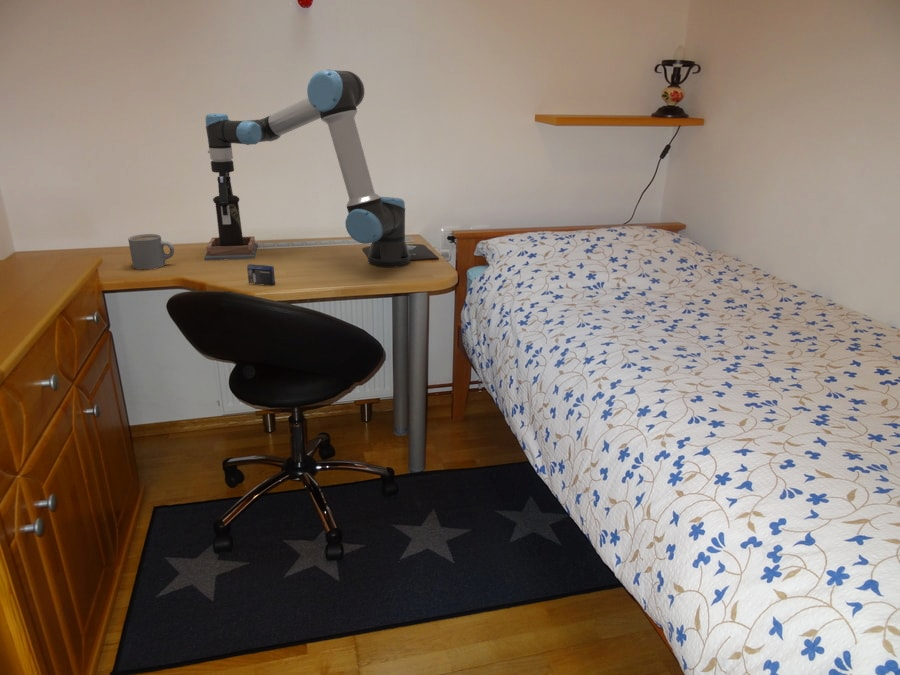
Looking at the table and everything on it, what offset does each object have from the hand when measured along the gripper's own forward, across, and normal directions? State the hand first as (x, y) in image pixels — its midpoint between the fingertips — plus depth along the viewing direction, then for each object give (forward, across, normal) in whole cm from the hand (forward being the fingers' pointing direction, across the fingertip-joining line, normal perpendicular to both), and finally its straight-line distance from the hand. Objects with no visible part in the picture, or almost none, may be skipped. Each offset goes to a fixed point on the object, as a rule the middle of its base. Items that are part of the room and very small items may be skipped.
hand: (229, 220), depth 225 cm
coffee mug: (+12, +15, -24) cm, 31 cm away
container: (+11, 0, 0) cm, 11 cm away
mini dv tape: (+12, +41, +13) cm, 45 cm away
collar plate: (+12, 0, 0) cm, 12 cm away
